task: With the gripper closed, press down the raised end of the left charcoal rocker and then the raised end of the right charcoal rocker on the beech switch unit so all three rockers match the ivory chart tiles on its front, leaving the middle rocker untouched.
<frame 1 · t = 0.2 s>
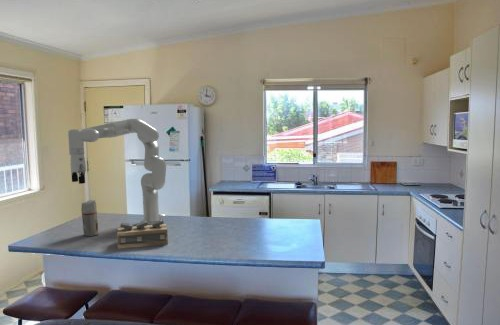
hand: (78, 182, 221), 31 cm above the counter, fingers open, 9 cm apart
switch unit: (143, 243, 212), on the counter
rocker right: (157, 223, 213), point 10 cm above the counter, hinge at 16.0°
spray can: (91, 235, 229), on the counter
rocker left: (126, 225, 209), point 10 cm above the counter, hinge at -16.0°
rocker middle: (142, 224, 211), point 10 cm above the counter, hinge at 16.0°
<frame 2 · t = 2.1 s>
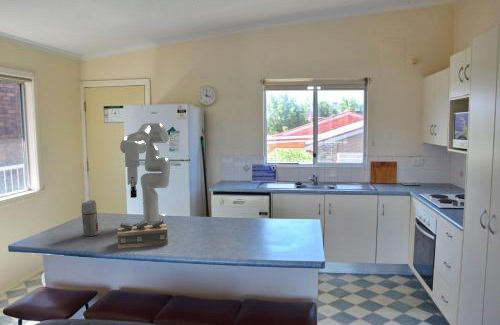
hand: (133, 196, 219), 23 cm above the counter, fingers open, 4 cm apart
nothing on the counter moved.
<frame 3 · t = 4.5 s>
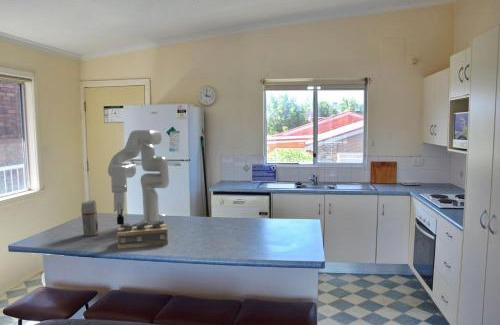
hand: (120, 223, 207), 11 cm above the counter, fingers closed
rocker left: (126, 225, 209), point 10 cm above the counter, hinge at -12.0°, touching gripper
everything else where it was.
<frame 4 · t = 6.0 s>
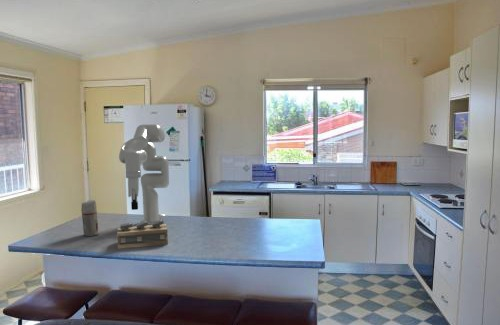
hand: (134, 209, 209), 19 cm above the counter, fingers closed
rocker left: (126, 225, 209), point 10 cm above the counter, hinge at 6.7°
everything else where it was.
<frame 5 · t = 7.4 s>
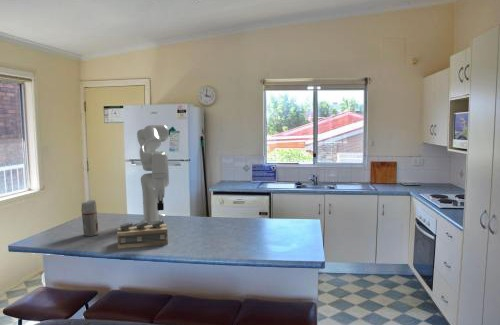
hand: (160, 209, 213), 17 cm above the counter, fingers closed
rocker left: (126, 225, 209), point 10 cm above the counter, hinge at 12.1°
everything else where it was.
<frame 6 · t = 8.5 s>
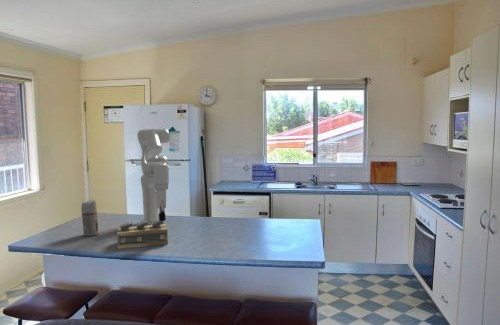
hand: (162, 220, 213), 12 cm above the counter, fingers closed
rocker right: (157, 223, 213), point 10 cm above the counter, hinge at 15.9°, touching gripper
rocker left: (126, 225, 209), point 10 cm above the counter, hinge at 13.6°
everything else where it was.
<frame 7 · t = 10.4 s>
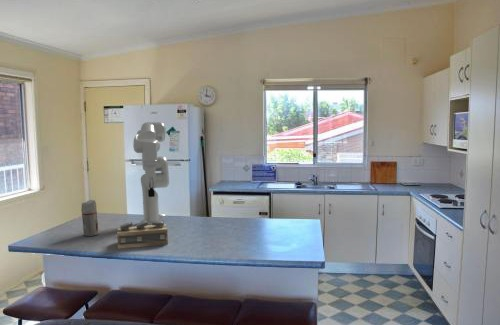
hand: (151, 196, 219), 23 cm above the counter, fingers closed
rocker right: (157, 223, 213), point 10 cm above the counter, hinge at -9.7°
rocker left: (126, 225, 209), point 10 cm above the counter, hinge at 14.5°
everything else where it was.
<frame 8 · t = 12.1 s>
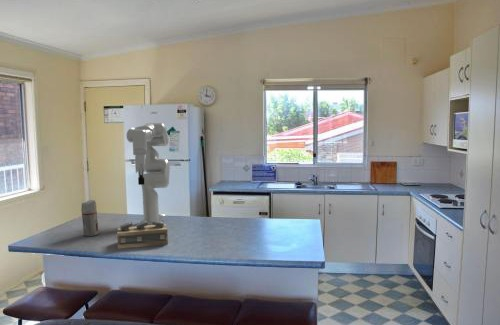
hand: (141, 184, 224), 29 cm above the counter, fingers closed
rocker right: (157, 223, 213), point 10 cm above the counter, hinge at -15.1°
everything else where it was.
at the end: rocker left at +15° (first picture: -16°); rocker right at -15° (first picture: +16°); rocker middle at +16° (first picture: +16°) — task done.
